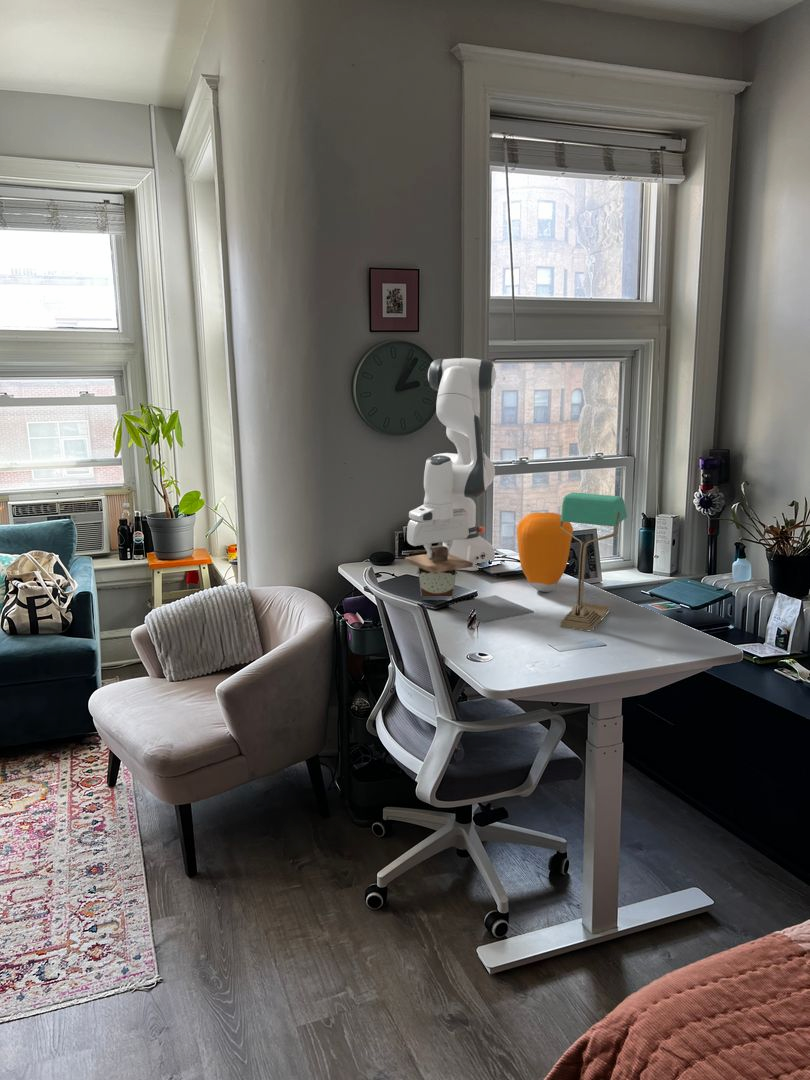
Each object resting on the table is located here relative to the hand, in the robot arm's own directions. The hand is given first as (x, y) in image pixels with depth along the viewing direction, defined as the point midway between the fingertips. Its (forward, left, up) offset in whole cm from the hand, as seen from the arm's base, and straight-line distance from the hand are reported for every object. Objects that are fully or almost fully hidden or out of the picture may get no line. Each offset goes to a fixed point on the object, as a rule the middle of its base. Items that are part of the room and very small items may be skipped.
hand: (438, 556), depth 245 cm
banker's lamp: (-25, +38, -13) cm, 47 cm away
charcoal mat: (-7, +17, -13) cm, 23 cm away
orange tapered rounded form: (-32, +11, -13) cm, 36 cm away
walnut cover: (0, 0, -2) cm, 2 cm away
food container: (0, 0, -13) cm, 13 cm away
